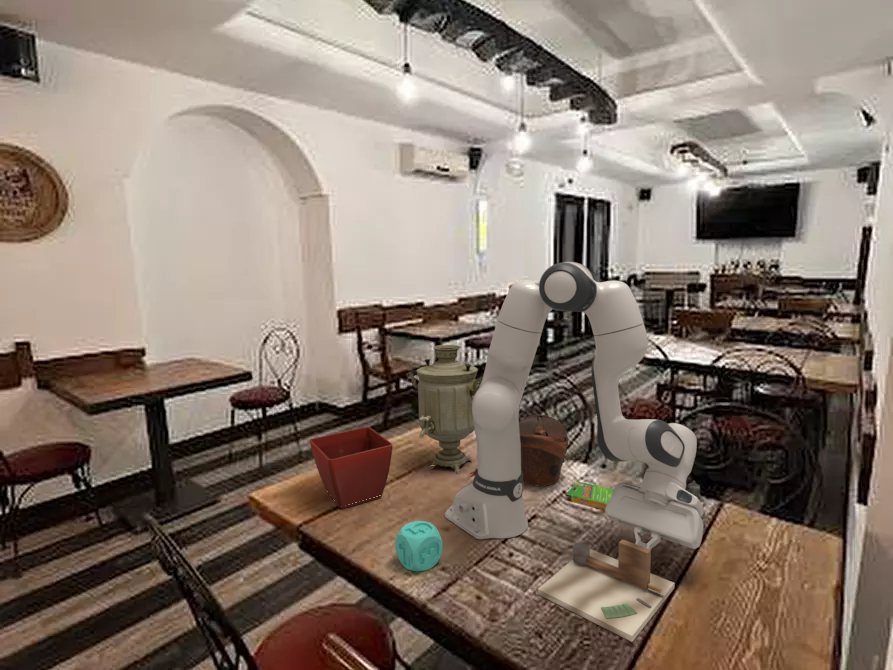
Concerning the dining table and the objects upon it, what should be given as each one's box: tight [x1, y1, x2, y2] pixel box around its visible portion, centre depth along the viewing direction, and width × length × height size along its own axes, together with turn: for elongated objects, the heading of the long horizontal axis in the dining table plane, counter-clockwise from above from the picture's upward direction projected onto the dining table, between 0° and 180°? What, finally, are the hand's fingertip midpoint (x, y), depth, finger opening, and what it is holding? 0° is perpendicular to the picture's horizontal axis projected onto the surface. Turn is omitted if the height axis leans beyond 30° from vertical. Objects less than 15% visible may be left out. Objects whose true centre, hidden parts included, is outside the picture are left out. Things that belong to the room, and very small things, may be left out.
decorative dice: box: [394, 520, 444, 572], centre depth 119 cm, size 8×8×8 cm
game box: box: [565, 481, 614, 511], centre depth 144 cm, size 3×10×20 cm
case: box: [519, 414, 569, 487], centre depth 160 cm, size 18×20×18 cm
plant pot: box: [309, 426, 394, 510], centre depth 152 cm, size 19×19×17 cm
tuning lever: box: [572, 539, 662, 593], centre depth 109 cm, size 19×4×8 cm, turn 46°
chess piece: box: [686, 480, 707, 529], centre depth 130 cm, size 6×6×12 cm
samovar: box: [406, 344, 483, 475], centre depth 169 cm, size 30×26×40 cm
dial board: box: [537, 548, 676, 643], centre depth 107 cm, size 20×20×1 cm
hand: (641, 551), depth 111 cm, fingers closed
